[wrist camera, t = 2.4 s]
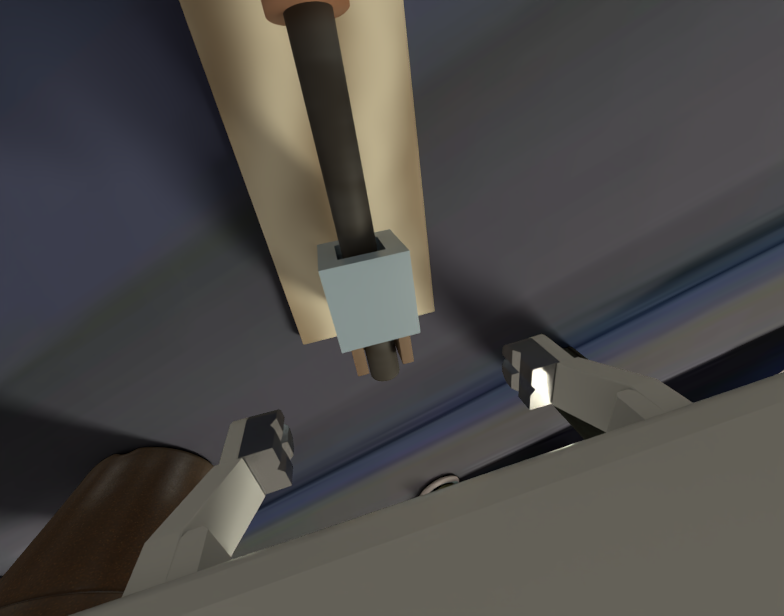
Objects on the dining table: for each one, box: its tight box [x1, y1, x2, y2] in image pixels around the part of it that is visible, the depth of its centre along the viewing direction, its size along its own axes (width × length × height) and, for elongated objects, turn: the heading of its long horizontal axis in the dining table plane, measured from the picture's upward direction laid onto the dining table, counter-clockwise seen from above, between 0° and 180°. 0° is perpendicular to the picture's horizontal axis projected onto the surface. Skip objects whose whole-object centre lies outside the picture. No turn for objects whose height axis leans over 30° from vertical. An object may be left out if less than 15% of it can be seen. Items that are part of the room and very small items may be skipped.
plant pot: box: [0, 447, 214, 616], centre depth 25 cm, size 16×16×16 cm
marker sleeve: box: [317, 229, 420, 353], centre depth 19 cm, size 5×5×5 cm
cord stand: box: [179, 0, 434, 381], centre depth 18 cm, size 12×26×10 cm, turn 9°
